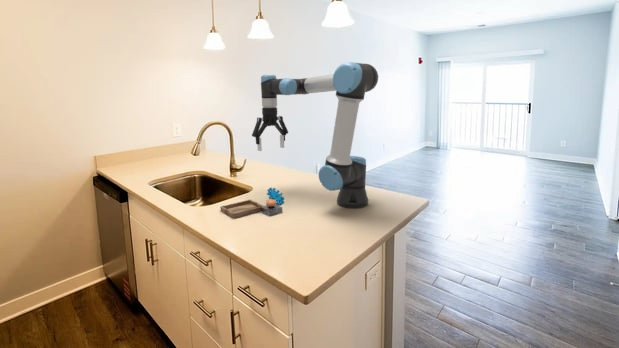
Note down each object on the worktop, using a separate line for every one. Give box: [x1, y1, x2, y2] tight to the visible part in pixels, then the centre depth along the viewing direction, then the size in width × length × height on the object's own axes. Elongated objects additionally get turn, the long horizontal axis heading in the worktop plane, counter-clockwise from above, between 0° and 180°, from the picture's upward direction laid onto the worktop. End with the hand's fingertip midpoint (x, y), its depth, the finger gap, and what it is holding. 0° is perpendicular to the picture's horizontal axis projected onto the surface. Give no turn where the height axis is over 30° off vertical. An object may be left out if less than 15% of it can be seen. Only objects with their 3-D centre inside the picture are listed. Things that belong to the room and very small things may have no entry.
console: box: [260, 204, 283, 217], centre depth 157 cm, size 7×7×2 cm
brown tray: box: [219, 199, 264, 220], centre depth 159 cm, size 13×16×2 cm
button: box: [265, 199, 277, 207], centre depth 156 cm, size 4×4×3 cm
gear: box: [266, 187, 285, 206], centre depth 169 cm, size 11×6×10 cm
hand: (271, 149), depth 179 cm, fingers open, 13 cm apart
